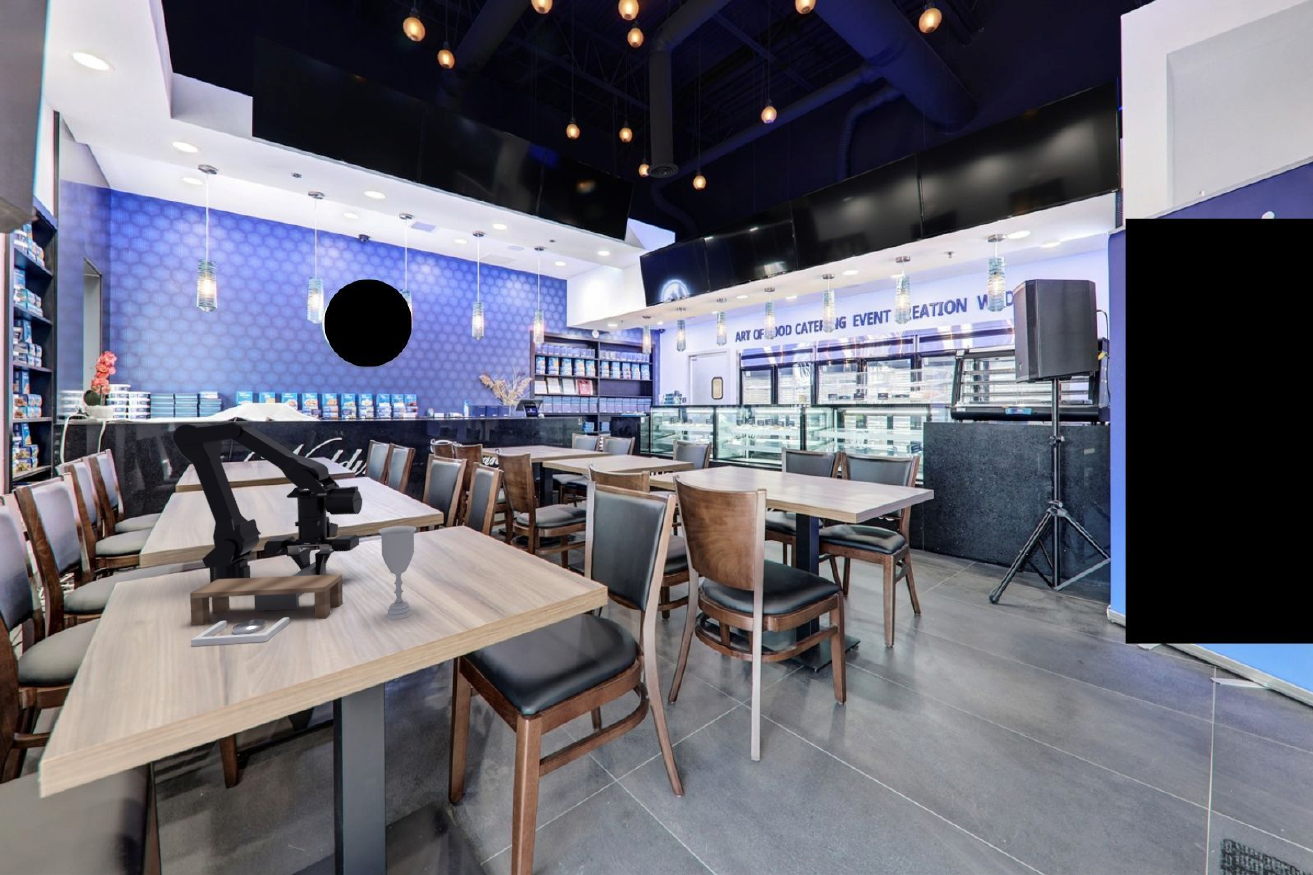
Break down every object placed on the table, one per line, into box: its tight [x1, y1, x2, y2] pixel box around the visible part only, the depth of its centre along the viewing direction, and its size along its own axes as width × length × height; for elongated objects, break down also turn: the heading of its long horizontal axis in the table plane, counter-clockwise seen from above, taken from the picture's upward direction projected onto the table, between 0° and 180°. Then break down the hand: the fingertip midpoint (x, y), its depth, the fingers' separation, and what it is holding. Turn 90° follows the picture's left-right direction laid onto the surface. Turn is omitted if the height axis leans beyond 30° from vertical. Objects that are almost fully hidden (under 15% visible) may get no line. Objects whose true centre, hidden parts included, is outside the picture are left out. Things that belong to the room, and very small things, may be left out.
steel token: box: [232, 618, 267, 635], centre depth 98 cm, size 5×5×1 cm
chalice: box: [378, 525, 417, 620], centre depth 105 cm, size 7×7×18 cm
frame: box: [190, 616, 290, 647], centre depth 96 cm, size 12×8×1 cm, turn 100°
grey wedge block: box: [253, 561, 327, 612], centre depth 117 cm, size 8×20×4 cm, turn 9°
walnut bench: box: [189, 573, 344, 627], centre depth 105 cm, size 24×8×6 cm, turn 100°
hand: (314, 578), depth 123 cm, fingers closed on grey wedge block, 2 cm apart
